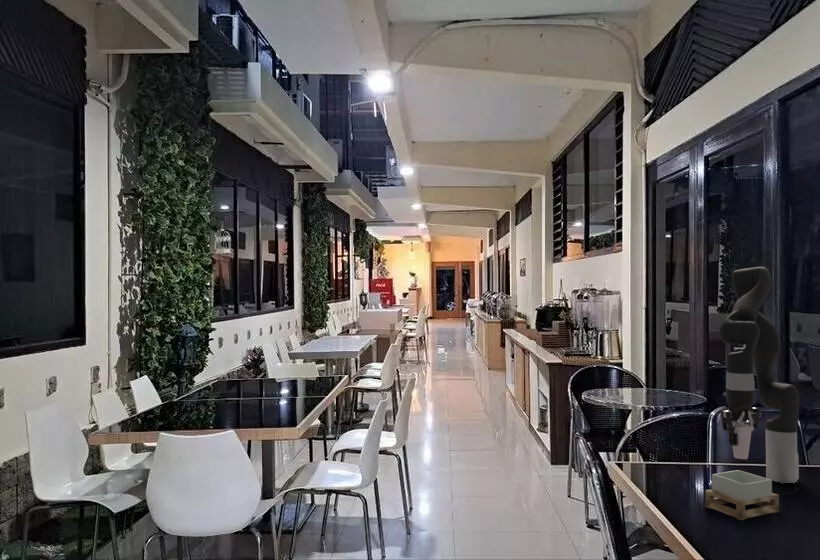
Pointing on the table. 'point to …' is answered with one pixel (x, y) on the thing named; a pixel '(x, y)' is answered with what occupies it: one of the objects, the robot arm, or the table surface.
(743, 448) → the smoothie
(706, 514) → the table surface
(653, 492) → the table surface
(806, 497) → the table surface
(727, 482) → the grey crate
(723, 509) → the wooden pallet
